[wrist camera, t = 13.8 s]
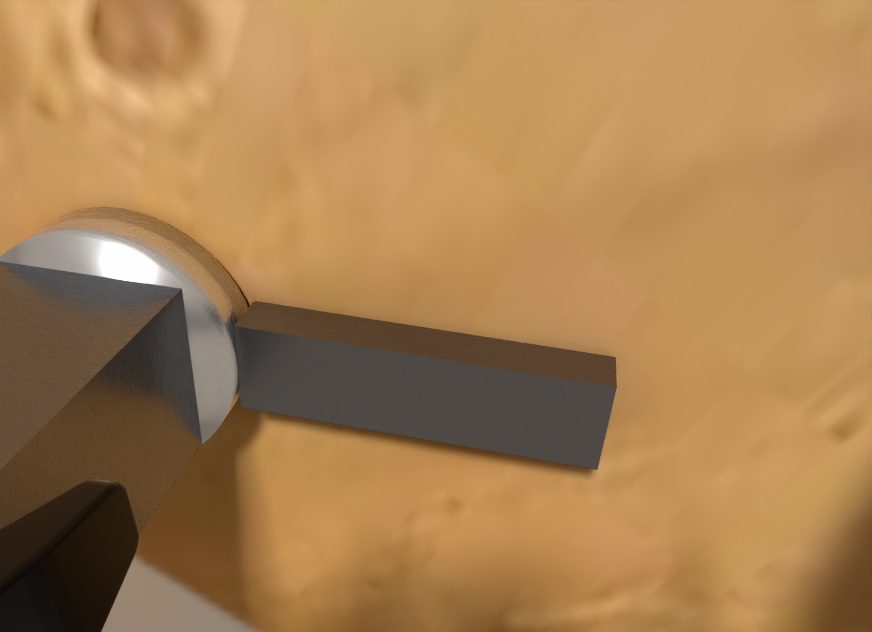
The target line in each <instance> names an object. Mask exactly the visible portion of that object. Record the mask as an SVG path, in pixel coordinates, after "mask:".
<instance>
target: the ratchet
mask: <svg viewBox="0 0 872 632" xmlns="http://www.w3.org/2000/svg"><path fill="white" fill-rule="evenodd" d="M0 261H2V262H8V263H15V264H22V265H28V266H35V267H42V268H48V269H55V270H61V271H68V272H75V273H81V274H88V275H95V276H101V277H108V278H115V279H121V280H128V281H135V282H141V283H148V284H154V285H161V286H168V287H174V288H181V289H182V293H183V301H184V308H185V316H186V324H187V331H188V339H189V346H190V354H191V362H192V369H193V377H194V385H195V392H196V400H197V407H198V415H199V423H200V430H201V438H202V444H203V443H204V442H206V441H207V440H208V439H209V438H210V437H212V435H213V434H214V433H215V432H216V431H217V429H218V428H219V427H220V425H221V424H222V422H223V421H224V420H225V418H226V417H227V415H228V414H229V412H230V411H231V409H232V408H233V406H234V405H235V403H236V402H237V401H238V399H239V398H240V401H241V408H246V409H252V410H258V411H263V412H269V413H275V414H281V415H286V416H292V417H298V418H304V419H309V420H315V421H321V422H327V423H332V424H338V425H344V426H349V427H355V428H361V429H367V430H372V431H378V432H384V433H390V434H395V435H401V436H407V437H413V438H418V439H424V440H430V441H435V442H441V443H447V444H453V445H458V446H464V447H470V448H476V449H481V450H487V451H493V452H499V453H504V454H510V455H516V456H521V457H527V458H533V459H539V460H544V461H550V462H556V463H562V464H567V465H573V466H579V467H585V468H590V469H596V470H597V469H598V464H599V460H600V456H601V452H602V447H603V443H604V439H605V434H606V430H607V426H608V422H609V417H610V413H611V409H612V405H613V400H614V396H615V392H616V388H617V385H616V357H611V356H604V355H598V354H591V353H585V352H578V351H572V350H566V349H559V348H553V347H546V346H540V345H533V344H527V343H521V342H514V341H508V340H501V339H495V338H488V337H482V336H476V335H469V334H463V333H456V332H450V331H443V330H437V329H431V328H424V327H418V326H411V325H405V324H398V323H392V322H386V321H379V320H373V319H366V318H360V317H353V316H347V315H340V314H334V313H328V312H321V311H315V310H308V309H302V308H295V307H289V306H283V305H276V304H270V303H263V302H257V301H254V302H253V303H252V304H251V305H250V307H249V308H248V306H247V303H246V301H245V299H244V297H243V295H242V293H241V292H240V290H239V288H238V286H237V285H236V283H235V282H234V280H233V279H232V278H231V276H230V275H229V274H228V272H227V271H226V270H225V268H224V267H223V266H222V265H221V264H220V263H219V262H218V261H217V260H216V259H215V257H214V256H212V255H211V254H210V253H209V252H208V251H207V250H206V249H205V248H204V247H203V246H201V245H200V244H199V243H198V242H196V241H195V240H193V239H192V238H191V237H189V236H188V235H187V234H185V233H183V232H182V231H180V230H178V229H177V228H175V227H173V226H172V225H170V224H168V223H165V222H163V221H161V220H159V219H157V218H154V217H152V216H148V215H145V214H142V213H139V212H136V211H131V210H126V209H121V208H109V207H99V208H87V209H83V210H78V211H74V212H72V213H69V214H66V215H64V216H62V217H60V218H58V219H57V220H55V221H53V222H52V223H50V224H49V225H47V226H46V227H44V228H42V229H41V230H39V231H38V232H36V233H35V234H33V235H31V236H30V237H28V238H27V239H25V240H24V241H22V242H21V243H19V244H17V245H16V246H14V247H13V248H11V249H10V250H8V251H7V252H6V253H5V254H4V255H3V256H1V257H0ZM202 444H201V445H202Z"/></svg>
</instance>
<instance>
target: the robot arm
mask: <svg viewBox="0 0 872 632" xmlns="http://www.w3.org/2000/svg"><path fill="white" fill-rule="evenodd" d="M138 541H139V532H138V527H137V524H136V520H135V517H134V513H133V510H132V506H131V503H130V499H129V496H128V492H127V490H126V488H125V487H124V486H123V485H122V484H120V483H118V482H111V481H104V480H97V479H91V480H86V481H84V482H82V483H80V484H78V485H76V486H75V487H73V488H71V489H69V490H68V491H66V492H64V493H62V494H61V495H59V496H57V497H55V498H54V499H52V500H50V501H48V502H47V503H45V504H43V505H41V506H40V507H38V508H36V509H34V510H33V511H31V512H29V513H27V514H26V515H24V516H22V517H20V518H19V519H17V520H15V521H13V522H12V523H10V524H8V525H6V526H5V527H3V528H1V529H0V632H101V631H102V629H103V627H104V624H105V622H106V620H107V617H108V615H109V613H110V611H111V608H112V606H113V604H114V601H115V599H116V597H117V594H118V592H119V590H120V588H121V585H122V583H123V581H124V578H125V576H126V573H127V571H128V569H129V567H130V565H131V562H132V560H133V558H134V555H135V553H136V550H137V546H138Z"/></svg>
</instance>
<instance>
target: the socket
mask: <svg viewBox="0 0 872 632" xmlns="http://www.w3.org/2000/svg"><path fill="white" fill-rule="evenodd" d="M201 444H202V438H201V430H200V423H199V415H198V407H197V400H196V392H195V385H194V377H193V369H192V362H191V354H190V346H189V339H188V331H187V324H186V316H185V308H184V301H183V293H182V289H181V288H174V287H168V286H161V285H154V284H148V283H141V282H135V281H128V280H121V279H115V278H108V277H101V276H95V275H88V274H81V273H75V272H68V271H61V270H55V269H48V268H42V267H35V266H28V265H22V264H15V263H8V262H2V261H0V529H1V528H3V527H5V526H6V525H8V524H10V523H12V522H13V521H15V520H17V519H19V518H20V517H22V516H24V515H26V514H27V513H29V512H31V511H33V510H34V509H36V508H38V507H40V506H41V505H43V504H45V503H47V502H48V501H50V500H52V499H54V498H55V497H57V496H59V495H61V494H62V493H64V492H66V491H68V490H69V489H71V488H73V487H75V486H76V485H78V484H80V483H82V482H84V481H86V480H91V479H97V480H104V481H111V482H118V483H120V484H122V485H123V486H124V487H125V488H126V490H127V492H128V496H129V499H130V503H131V506H132V510H133V513H134V517H135V520H136V524H137V527H138V532H139V533H140V532H141V530H142V529H143V527H144V526H145V525H146V523H147V522H148V520H149V519H150V517H151V516H152V515H153V513H154V512H155V510H156V509H157V507H158V506H159V505H160V503H161V502H162V500H163V499H164V497H165V496H166V494H167V493H168V492H169V490H170V489H171V487H172V486H173V484H174V483H175V482H176V480H177V479H178V477H179V476H180V474H181V473H182V471H183V470H184V469H185V467H186V466H187V464H188V463H189V461H190V460H191V459H192V457H193V456H194V454H195V453H196V451H197V450H198V448H199V447H200V446H201Z"/></svg>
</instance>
